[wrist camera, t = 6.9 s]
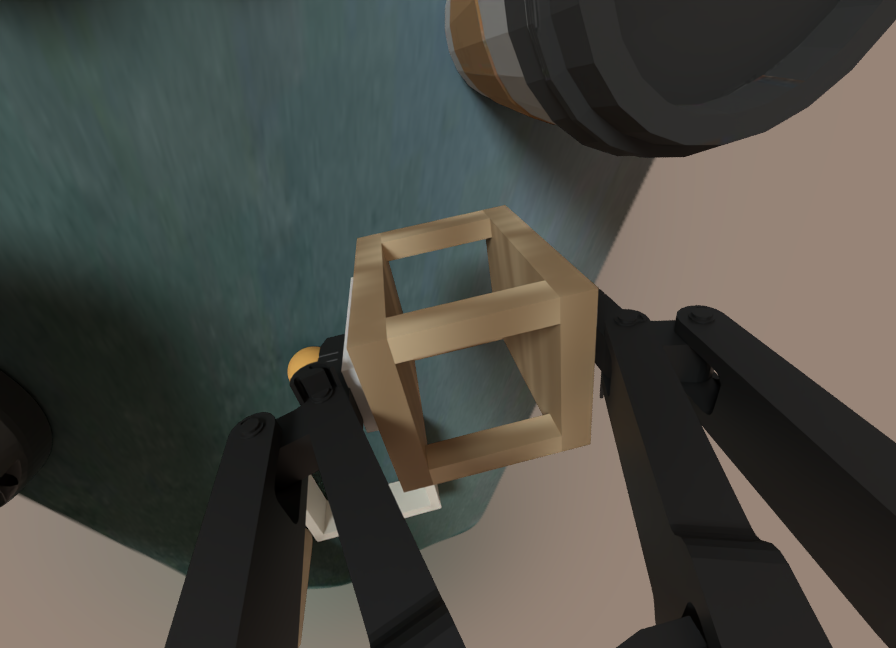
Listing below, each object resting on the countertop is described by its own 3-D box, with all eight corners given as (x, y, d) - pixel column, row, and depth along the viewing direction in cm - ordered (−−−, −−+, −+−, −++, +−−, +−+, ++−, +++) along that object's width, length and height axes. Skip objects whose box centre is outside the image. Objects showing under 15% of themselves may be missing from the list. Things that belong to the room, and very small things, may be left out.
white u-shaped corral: (321, 507, 36) (317, 541, 33) (281, 445, 31) (273, 479, 28) (436, 476, 36) (441, 507, 34) (415, 410, 31) (420, 441, 29)
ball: (302, 378, 28) (295, 410, 25) (284, 343, 26) (274, 373, 23) (345, 367, 28) (343, 398, 25) (331, 332, 26) (327, 360, 23)
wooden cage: (392, 350, 19) (404, 492, 12) (356, 238, 16) (346, 348, 9) (515, 321, 20) (590, 444, 13) (504, 205, 16) (598, 288, 10)
